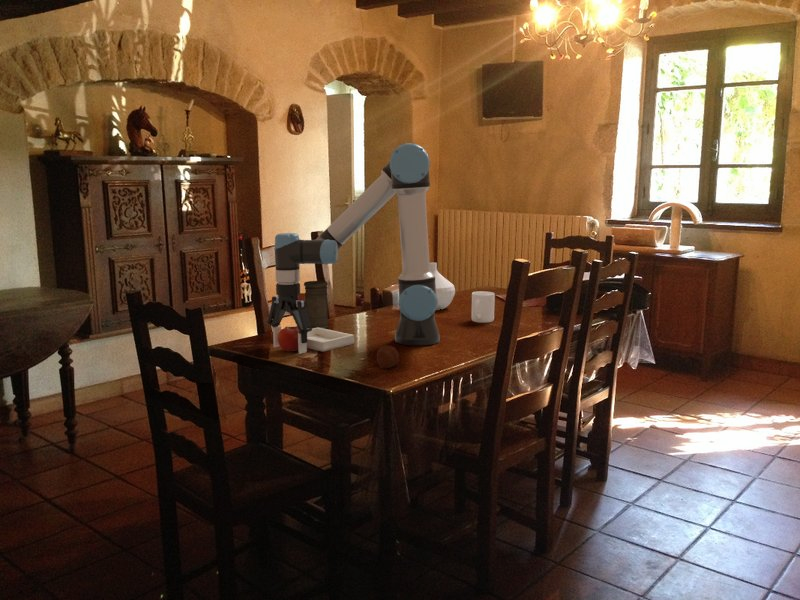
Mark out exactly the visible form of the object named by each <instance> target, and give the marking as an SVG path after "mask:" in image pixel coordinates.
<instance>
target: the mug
mask: <svg viewBox="0 0 800 600" xmlns="http://www.w3.org/2000/svg"><path fill="white" fill-rule="evenodd" d="M495 297H496V295H495V292H491V291H481V290H480V291H473V292H472V293H471V321H472V322H475V323H480V324H488V323H492V322H494V320H495Z"/></svg>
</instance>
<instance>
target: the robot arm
mask: <svg viewBox="0 0 800 600" xmlns="http://www.w3.org/2000/svg"><path fill="white" fill-rule="evenodd" d="M430 166H431V162H430V156H429V154H428V152H427V151H426V149H424V147H423V146H421V145H420V144H417V143H414V142H411V143H410V142H406V143H402V144H400V145H398V146H396V148H395V149H394V150H393V151H392V153H391V155H390V159H389V162H388V163H387V164H386V165H385V166H384V167H382V169H381V172H380V175H379V177H377V179H375V180H374V181H373V182H372V183H371V184H370V185H369V186H368V187H367V188H366V189H365V190H364V191H363V192H362V194H360V195H359V196H357V198H356V199H355V200H354V201H352V203H351V204H350V205H349V206H348V207H347V208H346V209H345V210H344V211H343V212H342V213H341V214H340V215H339V216H338V217H337V218H336V219H335V220H334V221H333V222H332V223H330V225H329V226H327V228H326V229H325V230H324V231H323V232H322V233H320V234H319V235H318V237H316V239H300V237H299V234H298V233H296V232H293V233H292V232H283V233H281V232H280V233H277V234H276V235H275V236H274V262H275V282H276V284H275V292H276V293H275V294H276V295H275V296H272V297H271V306H270V310H269V315H268V317H267V324H268V325H271V326H270V327H272V330H271V331H272V336H273V337H272V338H273V339H272V341H273V348H278V347H280V345H279V343H278V339H277V337H278V333H279V332H280V330H282V326H281V322H282V320H283V318H284V316H285V314H286V312H287V313H289V315H290V316H292V318H293V320H294V322H295V325H296V327H298V329H299V331H300V332H299V333H298V350H299V351H298V354H300V355H301V354H305V353H307V351H308V348H307V332H309V331H312V327H311V324H310V320H309V317H308V313H307V309H306V301H305V299H304V300H299V296H300V294H301V283H300V281H301V279H300V278H301V276H300V271H301V270H300V268H301V267H300V265H301V264H302V265H304V264H306V265H307V264H309V265H331V264H332V265H333V264H336V263H337V262H338V258H339V257H338V256H339V250H340V249H341V247H343V245H344V244H345V243H346V242H348V241H349V240H350V238H351V237H353V236H354V235H355V234H356V233H357V232H358V230H361V228H362V227H363V226H364V225H365V224H366V223H367V222H368V221H369V220H370V219H371V218H372V217H373V216H374V215H375V214H376V213H378V211H379V210H380V209H381V208H383V207H384V205H385V204H386V203H388V202H389V200H391V198H393V197H394V196H395V195H397V205H398V207H397V208H398V221H399V222H398V223H399V224H398V225H399V238H400V251H401V252H400V253H401V254H400V255H401V267H402V269H401V271H402V272H401V273H400V275H398V277H397V281H398V295H399V299H398V307H399V314H400V315H399V321H398V324H397V327H396V331H395V333H394V341H395V343H397V344H401V345H404V346H412V347H413V346H414V347H415V346H418V347H420V346H430V345H435V344H437V343H440V341H441V339H440V337H441V336H440V332H439V329H438V326H437V321H436V319H435V312H436V311H437V310H436V308H437V304H438V300H437V297H436V284H435V275H434V274H433V273H432V272H431V271H430V263H431V262H430V249H429V231H428V217H427V215H428V213H427V211H428V210H427V199H426V198H427V197H426V196H427V195H426V193H427V192H428V190H429V189H431V188H430V187H431V184H430V183H431V180H430ZM307 327H308V328H307Z"/></svg>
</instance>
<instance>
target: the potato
mask: <svg viewBox="0 0 800 600" xmlns="http://www.w3.org/2000/svg"><path fill="white" fill-rule="evenodd" d="M399 361H400V354H399V351H398V350H397V348H396V347H395V346H392V345H387V344H386V345H382V346H381V347H380V348H379V349H378V350H377V352H376V363H377V365H378V366H379V367H380V368H382V369H391V368H392V367H395V366H397V365H398V363H399Z"/></svg>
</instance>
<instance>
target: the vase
mask: <svg viewBox="0 0 800 600" xmlns="http://www.w3.org/2000/svg"><path fill="white" fill-rule="evenodd" d="M429 263H430V271H431V272H432V273H433V274H434V275H435V284H436V297H437V300H438V304H437V308H436V310H435V311H439V310H440V309H441V310H444V309H446V308H447V307H448V306H450V304H451V303H452V302H453V300H454V297H455V295H456V289H455V285H454V284H453V283H452V282H450V281H449V280H448V278H446V277H444V276H443V275H442V274H441V273H440V272H439V271H438V268H437V267H438V266H437V265H438V264H437V263H438V262H429Z"/></svg>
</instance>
